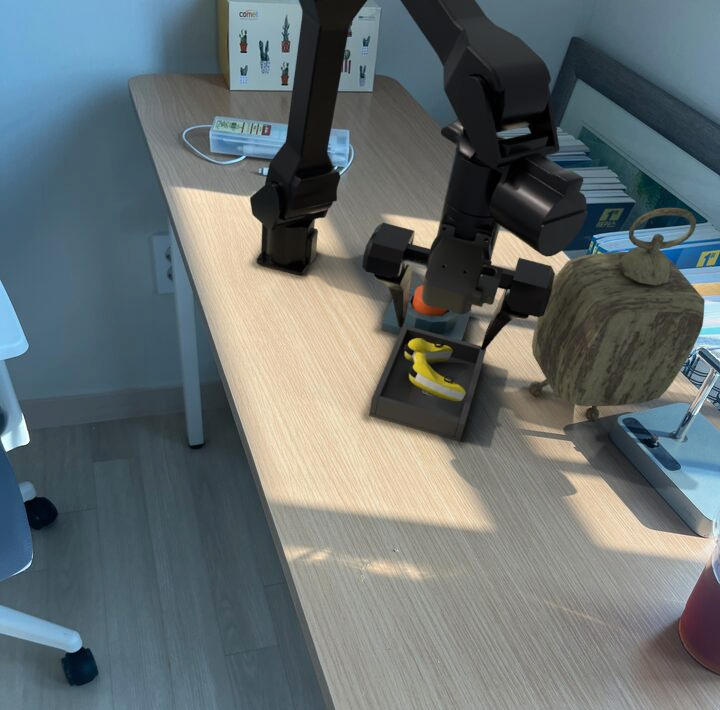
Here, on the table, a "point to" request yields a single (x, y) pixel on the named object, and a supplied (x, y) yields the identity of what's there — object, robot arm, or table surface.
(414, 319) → the dock switch
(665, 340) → the tabletop clock
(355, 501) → the table surface
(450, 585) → the table surface
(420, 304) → the button
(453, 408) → the tray
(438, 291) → the robot arm
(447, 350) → the yellow curved piece
